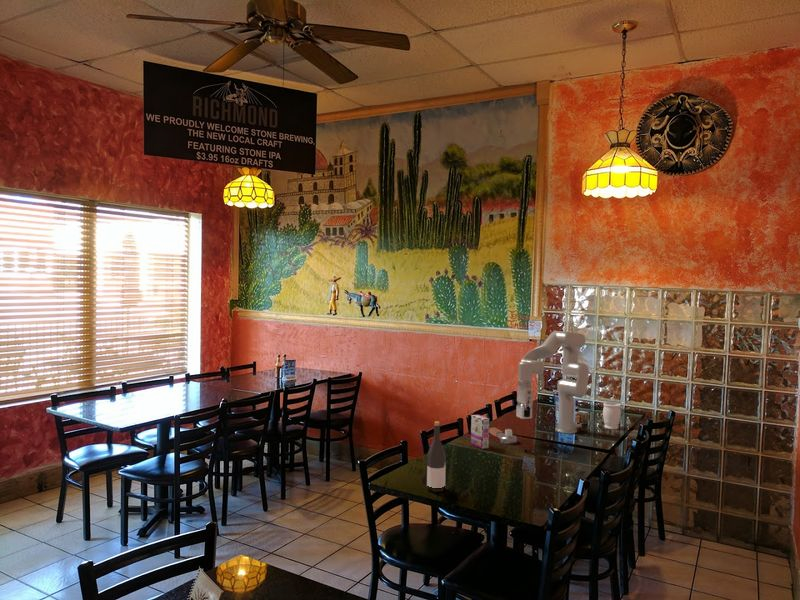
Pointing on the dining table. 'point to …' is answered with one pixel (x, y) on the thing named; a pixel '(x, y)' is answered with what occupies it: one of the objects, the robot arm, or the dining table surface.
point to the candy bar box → (480, 431)
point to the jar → (611, 415)
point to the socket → (522, 412)
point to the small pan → (504, 435)
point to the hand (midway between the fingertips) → (524, 415)
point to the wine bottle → (436, 461)
